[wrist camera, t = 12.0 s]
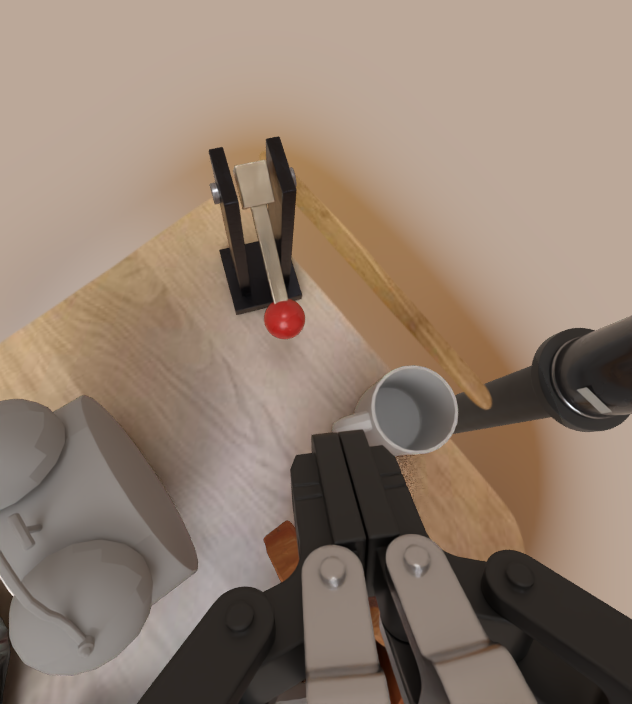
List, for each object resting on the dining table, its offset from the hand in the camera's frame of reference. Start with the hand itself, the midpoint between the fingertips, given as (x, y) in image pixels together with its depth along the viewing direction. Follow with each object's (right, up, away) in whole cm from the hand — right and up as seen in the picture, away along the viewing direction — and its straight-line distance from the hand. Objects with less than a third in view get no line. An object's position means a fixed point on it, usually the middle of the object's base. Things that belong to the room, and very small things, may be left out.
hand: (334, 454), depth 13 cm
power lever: (-4, +11, +22) cm, 25 cm away
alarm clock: (-17, -11, +28) cm, 34 cm away
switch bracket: (-6, +11, +34) cm, 36 cm away
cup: (+5, -4, +32) cm, 32 cm away
